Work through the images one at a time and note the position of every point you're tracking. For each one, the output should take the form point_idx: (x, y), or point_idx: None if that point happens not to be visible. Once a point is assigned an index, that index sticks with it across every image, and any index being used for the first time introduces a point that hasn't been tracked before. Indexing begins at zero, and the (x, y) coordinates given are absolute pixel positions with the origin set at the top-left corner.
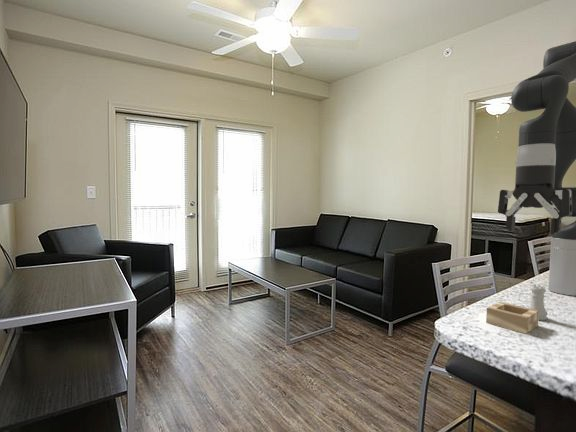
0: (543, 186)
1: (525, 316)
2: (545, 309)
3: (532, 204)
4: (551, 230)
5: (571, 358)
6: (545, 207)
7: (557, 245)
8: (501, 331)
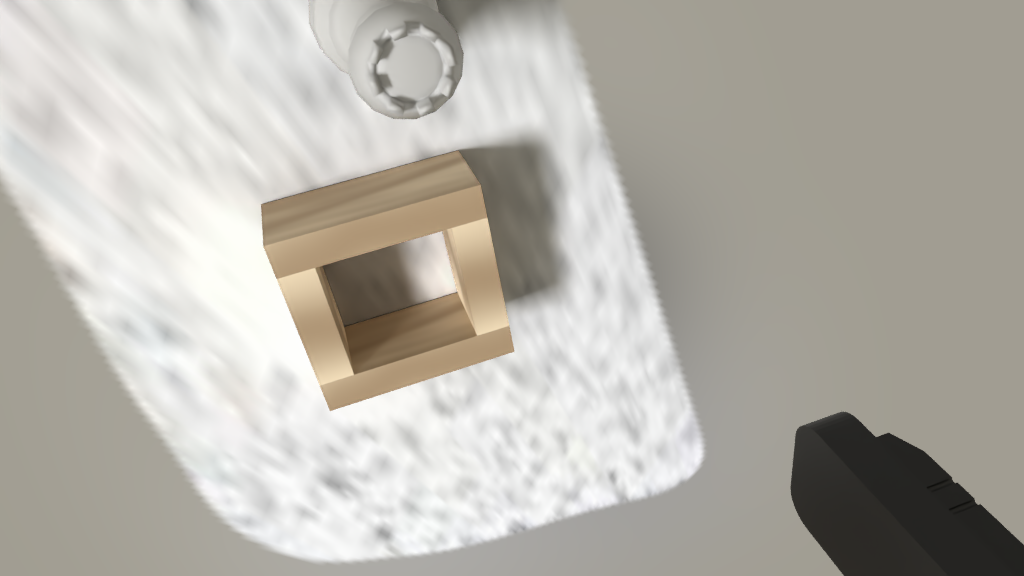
0: None
1: (500, 341)
2: (428, 4)
3: None
4: (834, 549)
5: (674, 353)
6: None
7: None
8: None
